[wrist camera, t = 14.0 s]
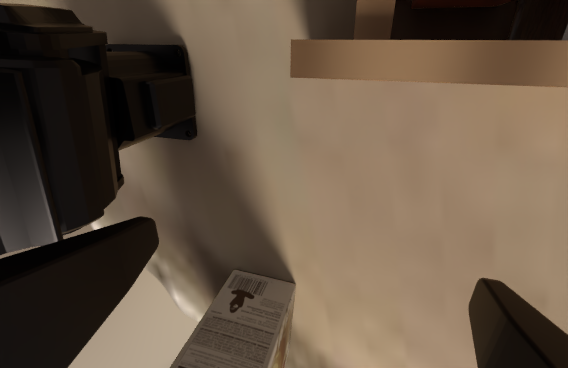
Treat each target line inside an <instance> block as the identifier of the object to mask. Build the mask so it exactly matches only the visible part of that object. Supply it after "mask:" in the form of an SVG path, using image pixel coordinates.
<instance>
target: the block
mask: <svg viewBox="0 0 568 368" xmlns="http://www.w3.org/2000/svg"><path fill="white" fill-rule="evenodd" d="M511 1H514V0H412V5H411V9H416V8H453V7H490V6H499V5H502V4H505V3H508V2H511Z"/></svg>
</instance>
